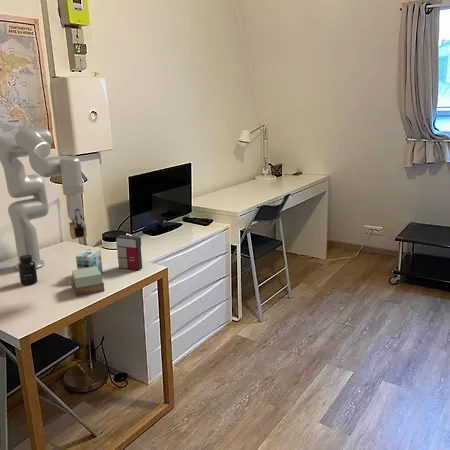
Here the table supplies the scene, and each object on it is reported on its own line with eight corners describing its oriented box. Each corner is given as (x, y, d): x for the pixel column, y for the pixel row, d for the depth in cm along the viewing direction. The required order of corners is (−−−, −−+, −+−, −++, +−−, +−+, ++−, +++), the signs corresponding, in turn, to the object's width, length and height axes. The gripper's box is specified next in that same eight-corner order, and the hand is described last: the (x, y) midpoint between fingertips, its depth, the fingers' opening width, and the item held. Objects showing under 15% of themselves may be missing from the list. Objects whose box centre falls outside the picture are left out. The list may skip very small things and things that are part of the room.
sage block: (73, 279, 190) (71, 270, 189) (97, 275, 194) (96, 266, 193) (76, 287, 181) (75, 278, 180) (102, 283, 185) (101, 274, 184)
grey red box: (117, 268, 211) (114, 237, 207) (123, 265, 215) (120, 234, 211) (138, 271, 207) (135, 239, 203) (143, 267, 211) (140, 236, 207)
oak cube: (70, 235, 184) (68, 222, 182) (84, 233, 186) (83, 220, 184) (72, 239, 179) (70, 225, 177) (87, 236, 181) (85, 223, 180)
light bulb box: (92, 280, 198) (89, 256, 195) (77, 279, 199) (75, 256, 196) (103, 271, 208) (101, 248, 205) (89, 270, 209) (87, 248, 206)
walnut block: (72, 288, 191) (71, 279, 190) (99, 282, 196) (98, 274, 195) (76, 297, 182) (75, 288, 181) (104, 292, 186) (103, 282, 185)
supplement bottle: (27, 287, 193) (23, 260, 189) (17, 284, 196) (13, 257, 193) (41, 281, 198) (37, 255, 195) (31, 278, 202) (27, 252, 199)
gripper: (60, 187, 183) (66, 231, 188) (66, 194, 168) (71, 241, 173) (79, 185, 186) (84, 228, 191) (87, 192, 171) (92, 238, 176)
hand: (78, 234), depth 182 cm, fingers closed on oak cube, 5 cm apart
